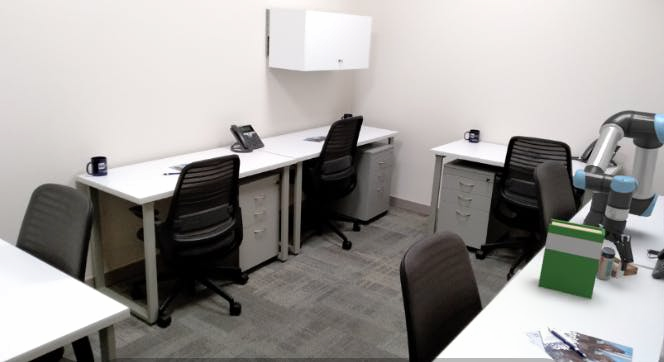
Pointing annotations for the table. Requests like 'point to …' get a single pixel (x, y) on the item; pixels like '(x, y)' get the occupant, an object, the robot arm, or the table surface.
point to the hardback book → (571, 258)
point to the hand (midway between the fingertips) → (604, 270)
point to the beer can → (606, 263)
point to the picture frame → (629, 271)
